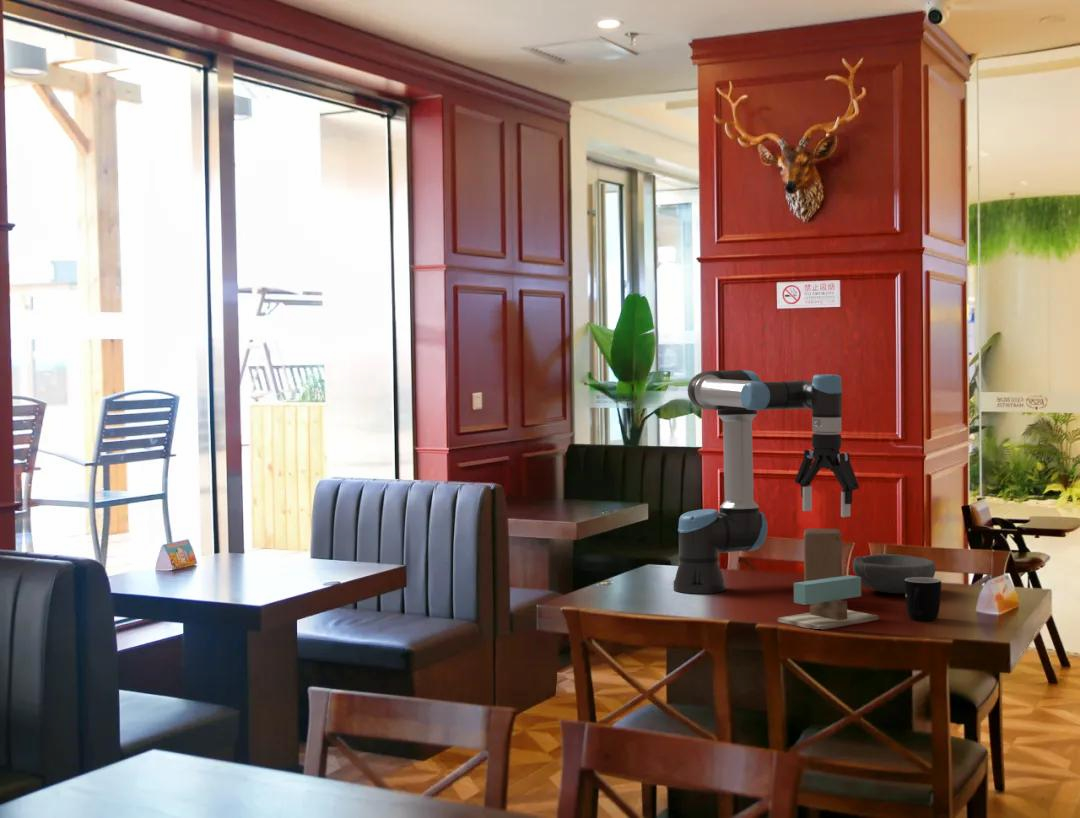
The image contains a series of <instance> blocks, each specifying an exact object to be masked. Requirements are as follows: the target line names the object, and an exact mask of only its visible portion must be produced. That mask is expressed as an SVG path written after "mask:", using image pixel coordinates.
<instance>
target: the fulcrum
mask: <svg viewBox="0 0 1080 818" xmlns="http://www.w3.org/2000/svg"><path fill="white" fill-rule="evenodd" d="M878 620H880V616H879V615H877V614H872V613H866V612H862V611H855V610H852V609H851V610H850V609H848V600H843V599H842V600H834V601H827V602H821V603H814V604H810V605H809V612H805V613H800V614H799V613H798V614H793V615H787V616H786V615H785V616H780V617H777V622H779V623H782V624H787V625H791V626H797V627H802V628H807V629H810V628H813V629H812V630H814V629H821V630H827V629H828V630H829V629H832V628H838V627H839V628H840V627H845V626H846V627H847V626H850V625H856V624H862V623H868V622H872V621H878Z"/></svg>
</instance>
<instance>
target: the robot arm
mask: <svg viewBox="0 0 1080 818" xmlns="http://www.w3.org/2000/svg"><path fill="white" fill-rule="evenodd" d="M687 396H688V399H689V400H690V402H691V403H692V404H693V405H694V406H695V407H696V408H700V409H702V410H709V411H711V410H713V411H715V410H716V411H717V417H718V418H719V419H720V420H721V421H722V433H723V434H722V436H723V437H722V439H723V441H722V443H723V444H722V445H723V477H724V479H723V482H724V484H723V487H724V488H723V489H724V491H723V492H724V501H723V502H722V503H721V505H720V506H719V511H718V510H717V509H714V508H705V509H696V510H691V511H690V510H689V511H687V512H685V513H683V514H681V515H680V517H679V518H678V528H677V532H678V567H677V569H676V574H675V577H674V578H675V579H674V581H673V591H675V592H678V593H682V594H683V593H684V594H696V595H697V594H699V595H700V594H701V595H702V594H703V595H704V594H714V593H715V594H717V593H722V592H724V591H726V582H725V581H726V580H724V577H723V573H722V570H721V567H720V562H719V560H720V559H719V558H720V557H719V554H720V553H721V554H722V553H723V554H724V553H736V552H745V553H746V552H750V551H755V550H758V549H760V548H761V547H762V546H763V544H765V541H766V538H767V536H768V520H767V519H766V518H767V517H766V516H765V513H763V512H762V511H760V506H759V505H758V504H757V503H756V502H755V500H754V499H755V498H754V458H753V457H754V455H753V420H754V419H755V417H757V416H758V413H757V412H758V411H767V410H769V411H771V410H811V411H812V412H811V413H812V415H811V416H812V417H811V418H812V419H811V421H812V422H811V424H812V425H811V428H812V429H811V430H812V432H813V433H812V435H811V447H812V448H813V449H805V450H804V452H803V459H802V461H801V464H800V466H799V469H798V472H797V475H796V477H795V480H794V482H795V483H796V484H798V485H800V497H801V499H802V512H810V511H813V509H812V508H813V506H812V503H813V499H812V498H813V485H811V483H812V481H814V478H815V477H816V476H817V474H818V473H819V471H821V469H825V470H830V471H831V472H832V473H833V474H834V477H835V478H836V480H837V481H838V483H839V485H840V486H841V488H842V491H840V517H841V518H847V517H851V505H852V503H853V492H854V491H856V490H859V489H860V486H859V483H858V480H857V478H856V474H855V471H854V469H853V467H852V464H851V463H852V462H851V459H850V458H851V457H850V456H851V455H850V453H849V452H842V453H841V452H840V449H841V447H842V435H841V434H840V433H841V432H842V407H843V406H842V404H843V400H842V399H843V388H842V377H841V375H839V374H830V373H829V374H828V373H827V374H826V373H825V374H818V373H817V374H814V375H813V377H812V381H811V380H809V381H808V380H804V379H803V380H800V379H799V380H798V379H797V380H787V381H785V380H783V381H781V380H780V381H762V379H761V378H760V376H759V375H758V374H757V373H756V372H754V371H752V370H745V369H744V370H743V369H742V370H741V369H736V370H731V369H730V370H728V369H727V370H706V371H705V370H704V371H702V372H700V373H698V374H696V375H695V376H693V377H692V378H691V379H690V381H689V384H688V386H687Z"/></svg>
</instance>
